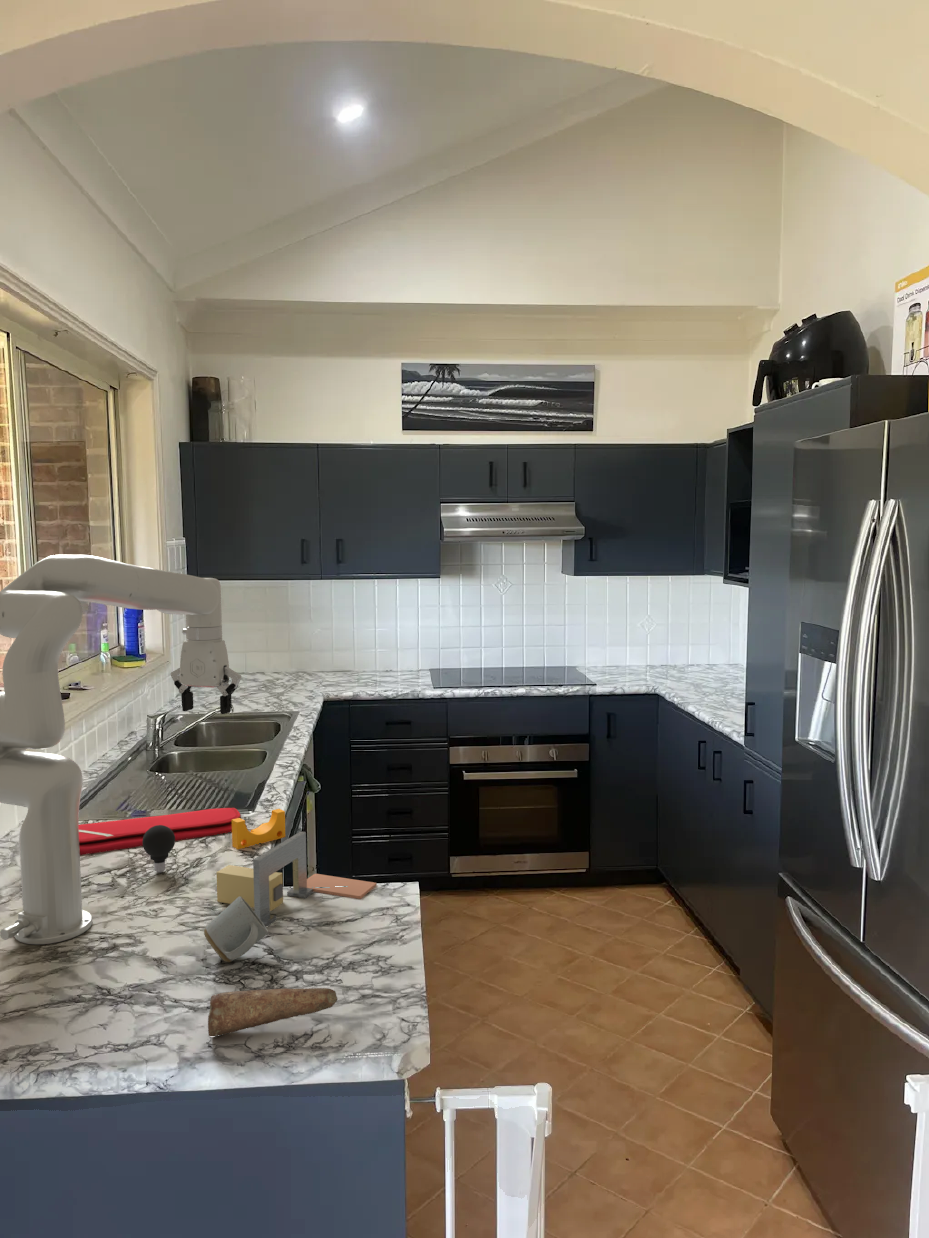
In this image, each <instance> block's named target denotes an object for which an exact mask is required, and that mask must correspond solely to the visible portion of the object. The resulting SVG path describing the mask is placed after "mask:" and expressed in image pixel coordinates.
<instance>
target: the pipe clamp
mask: <svg viewBox="0 0 929 1238" xmlns="http://www.w3.org/2000/svg"><path fill="white" fill-rule="evenodd" d="M246 826H247V824H246V820H244V819H243V818H242V817H240V818H237V819H232V832H231V843H232V844H231V846H232V848H234V849H236V850H241V849H245V847H246V848H249V846H250V847H254V846H256V845H255V844H257V845H260V844H259V843H261V844H265V843H268V842H272V841H275V840H276V841H277V840H279V839H280V840H281V839H283V838H286V811H285V810H283V809H281V808H275V809H272V810H271V815H270V819H269V820H268V821H267V822H263V823H261V824H260V825H259V826H257V827H256V828H252V829H250V830H249V829H248V827H246ZM253 845H254V846H253Z"/></svg>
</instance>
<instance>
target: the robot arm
mask: <svg viewBox="0 0 929 1238" xmlns="http://www.w3.org/2000/svg"><path fill="white" fill-rule="evenodd" d="M221 587H222V585H221V582H220V581H219V579H217V578H215V577H214V578H213V577H200V576H195V575H191V574H185V573H181V572H180V573H179V572H173V571H167V570H163V569H162V570H161V569H156V568H152V567H147V566H139V565H135V564H131V563H126V562H125V563H124V562H122V561H117V560H112V559H110V558H109V559H108V558H105V557H101V556H95V555H89V554H55V555H54V554H53V555H48V556H46V557H45V558H43V559H41V560H38V561H37V562H35V564H33V565H31V566H30V567H29V568H27V570H25V571H24V572H22V574H20V575H19V576H18V577H16V578H15V579H14V580H12V581H11V582H9V584H8V585H6V586H5V587H4V588H3V589H1V590H0V636H3V637H6V638H10V639H14V640H13V642H12V644H11V645H10V647H9V648H8V650H7V651H6V654H5V656H4V659H3V662H2V680H3V681H2V684H3V691H0V803H1V804H5V805H9V806H10V805H12V806H17V807H18V806H19V807H23V808H27V813H26V816H25V817H24V820H23V822H22V824H21V826H20V829H19V830H20V831H19V836H18V840H19V841H18V843H19V845H18V846H19V847H18V848H19V858H20V859H19V860H20V861H19V862H20V878H21V879H20V880H21V900H22V911H20V912H18V913H17V918H18V919H16V920H15V922H14V923H13V924H9V925H8V926H6V927H4V928H1V929H0V938H1V939H3V940H4V941H6V940H9V939H10V938H13V937H14V938H15V940H16V941H18V942H20V943H22V944H28V945H48V944H55V943H60V942H64V941H67V940H70V939H73V938H75V937H79V936H80V935H82V934H84V933H85V932H86V931H89V929H90V928H91V927H92V925H93V916H92V914H91V913H90V912H89V911H87V910H84V909H83V897H82V877H81V876H82V875H81V874H82V873H81V855H80V849H79V825H80V824H79V823H80V822H79V819H80V818H79V815H80V814H79V813H80V802H81V796H82V791H83V784H84V782H83V781H84V776H83V772H82V769H81V767H80V766H79V764H78V763H77V762H76V761H75V760H73V759H72V758H70V757H68V756H65V755H62V754H56V753H51V752H50V753H49V752H44V751H43V752H41V751H27V750H46V749H51V748H53V747H55V746H57V745H58V744H59V743H60V742H61V741H62V739H63V737H64V735H65V730H66V729H65V728H66V720H65V719H66V718H65V713H64V706H63V701H62V694H61V687H60V681H59V679H60V678H59V671H58V670H59V661H60V657H61V655H62V652H63V651H64V649H65V646H66V645H67V644H68V643H69V641H70V640H71V638H72V637H73V636H74V635H75V633H76V632H77V631H78V630H79V628H80V626H81V625H82V624H81V623H82V621H83V614H84V613H83V606H82V603H81V602H86V603H87V602H88V603H93V604H98V605H107V606H111V607H117V608H123V609H131V610H141V611H142V610H143V611H144V610H145V611H151V610H152V611H153V610H157V611H158V612H160V613H163V614H166V615H180V616H183V615H185V628H183V629H182V631H181V633H182V634H183V635H185V638H186V640H183V642H182V645H181V651H180V659H179V667H178V668H177V669H175V670H173V671H171V672H170V676H171V679H172V681H173V685H174V686H175V687H176V688H177V690H178V693H179V694H180V695H181V710H182V712H188V711H191V710H193V709H194V693H193V691H191V690H192V688H193V687H194V688H209V689H210V688H217V689H218V691H219V692H220V694H221V695H220V696H219V709H220V714H221V715H226V714H228V713H231V712H232V708H233V707H232V706H233V705H232V703H233V701H232V695H233V694H234V693H235V691H236V690H237V689H238V688H239V684H240V682H241V680H242V675H241V674H239V673H238V672H236V670H233V669H232V668H230V663H229V654H228V649H227V644H226V641H225V640H223V624H222V623H223V621H222V620H223V619H222V614H223V613H222V588H221ZM230 679H231V683H230V684H229V682H230Z"/></svg>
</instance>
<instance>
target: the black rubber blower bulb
mask: <svg viewBox="0 0 929 1238" xmlns="http://www.w3.org/2000/svg"><path fill="white" fill-rule="evenodd" d="M142 843H143V846H142V847H143V850H144V851H145V853H146V854H147V855H149V857H150V860H152V861H153V863H154V864H153V866H154V872H156V873H159V874H161V873H162V872H165V871H166V859H168V858H169V853H171V852H172V850H173V848H175V844H176V841H175V835H174V833H173V831H172V830H171V829H170V828H169V827H167V826H164V825H156V826H153V827H151V828H150V829H149V830H147V832H146V833H145V835H144V837H143V841H142Z"/></svg>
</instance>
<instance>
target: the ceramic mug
mask: <svg viewBox="0 0 929 1238" xmlns="http://www.w3.org/2000/svg"><path fill="white" fill-rule="evenodd" d="M268 934H269V930H268V928H267V927H266V926H265V925H264V924H263V922H262V921H261V920H260V918H259V917H258V916H257V915H256V913H255V911H254V910H253V908H252V907H250V906H249V905H248V903H247V902H246V901H245V900H244V899H243V898H242V897H240V896H239V897H238V898H237V899H236V900H235V901H233V902H232V903H231V904H229V905H228V906H227V907H226V908H225V909H223V911H221V912H220V913H219V914H218V915H217V916H216V917H215V918H213V919H212V920H211V921H210V922H209V923H208V925H207V926H206V927H205V928H204V931H203V935H204V937H205V940H206V941H207V942H208V944H209V945H210V947H211V948H212V949H213V950H214V952H215V953H216V954H217V956H219V957H220V959H222V960H223V961H224V962H225V963H231V962H233V961H235V960H236V959H239V958H240V957H242V956H244V955H245V954H246V953H247V952H249V951H250V949H251V948H252V947H253V946H254V945H255V944H257V943H258V942H259V941H261V940H262V939H263V938H264V937H266V936H267V935H268Z"/></svg>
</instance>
